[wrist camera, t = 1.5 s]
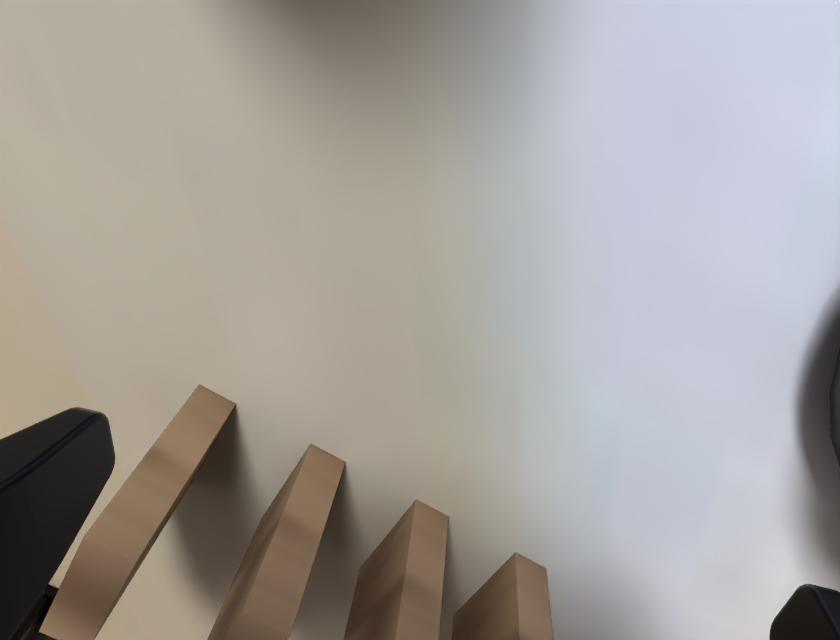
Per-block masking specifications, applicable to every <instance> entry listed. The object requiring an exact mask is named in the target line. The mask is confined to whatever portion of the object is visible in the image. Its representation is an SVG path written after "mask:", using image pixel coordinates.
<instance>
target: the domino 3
mask: <svg viewBox="0 0 840 640" xmlns="http://www.w3.org/2000/svg"><path fill="white" fill-rule="evenodd" d="M448 519H449V517H448V516H446V515H444V514H443V513H441V512H439V511H437V510H435V509H433V508H431V507H429V506H428V505H426V504H424V503H422V502H420V501H418V500H415V502H414V503H413V504H412V505H411V507H410V508H409V509H408V510H407V512H406V513H405V514H404V515H403V516H402V518H401V519H400V520H399V521H398V523H397V524H396V525H395V526H394V527H393V529H392V530H391V531H390V532H389V534H388V535H387V536H386V537H385V538H384V540H383V541H382V542H381V543H380V545H379V546H378V547H377V548H376V550H375V551H374V552H373V553H372V554H371V556H370V557H369V558H368V559H367V561H366V562H365V563H364V564H363V565H362V567H361V568H360V571H359V575H358V579H357V584H356V588H355V592H354V597H353V601H352V605H351V610H350V614H349V618H348V623H347V627H346V631H345V636H344V640H439V630H440V617H441V605H442V593H443V580H444V568H445V556H446V543H447V531H448Z"/></svg>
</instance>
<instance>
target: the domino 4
mask: <svg viewBox="0 0 840 640" xmlns="http://www.w3.org/2000/svg"><path fill="white" fill-rule="evenodd" d="M452 640H553V632H552V622H551V612H550V602H549V592H548V582H547V572H546V568H544V567H542V566H540V565H538V564H537V563H535V562H533V561H531V560H529V559H527V558H525V557H523V556H522V555H520V554H518V553H516V552H515V553H514V554H513V555H512V556H511V557H510V559H509V560H508V561H507V562H506V563H505V564H504V565H503V566H502V567H501V568H500V569H499V570H498V571H497V572H496V573H495V574H494V575H493V576H492V577H491V578H490V579H489V580H488V581H487V582H486V583H485V584H484V585H483V586H482V587H481V588H480V589H479V590H478V591H477V592H476V593H475V594H474V595H473V596H472V597H471V598H470V599H469V600H468V601H467V602H466V603H465V604H464V605H463V606H462V607H461V608H460V609H459V611H458V612H457V613H456V614H455V615H454V616H453V633H452Z"/></svg>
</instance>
